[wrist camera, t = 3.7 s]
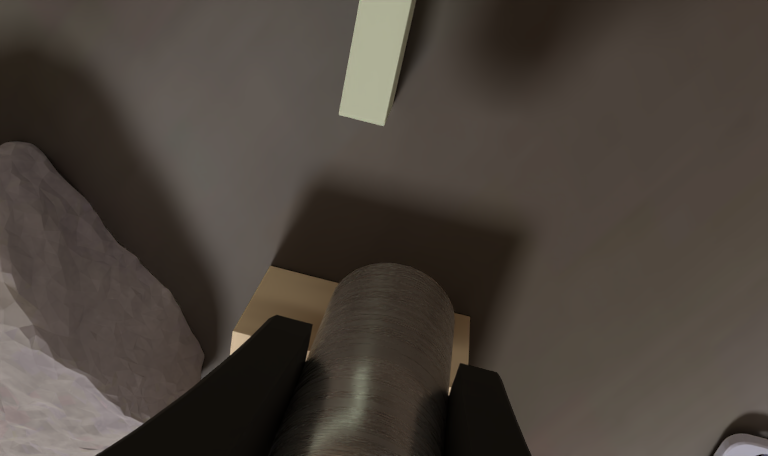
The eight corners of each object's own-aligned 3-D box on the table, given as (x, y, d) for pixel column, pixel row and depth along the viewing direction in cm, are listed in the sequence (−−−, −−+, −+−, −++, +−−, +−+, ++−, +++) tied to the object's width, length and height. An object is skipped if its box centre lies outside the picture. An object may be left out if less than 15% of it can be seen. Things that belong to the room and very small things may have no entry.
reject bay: (459, -193, 12) (456, -202, 11) (346, 310, 18) (335, 343, 17) (-431, -404, 13) (-537, -439, 11) (-268, 152, 19) (-325, 172, 17)
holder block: (470, 317, 18) (467, 391, 15) (421, 459, 20) (412, 544, 18) (270, 265, 18) (232, 331, 15) (248, 413, 20) (213, 491, 18)
